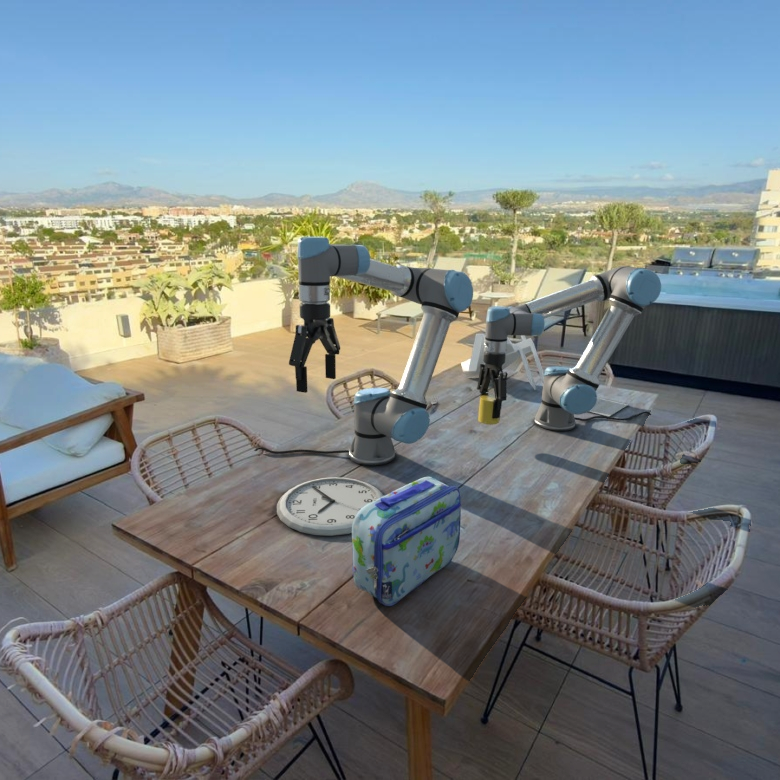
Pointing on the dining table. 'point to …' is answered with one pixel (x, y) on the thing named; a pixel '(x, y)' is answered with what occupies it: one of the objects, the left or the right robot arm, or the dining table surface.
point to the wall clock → (325, 505)
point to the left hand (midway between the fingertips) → (316, 384)
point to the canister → (487, 410)
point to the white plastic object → (512, 354)
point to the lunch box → (405, 538)
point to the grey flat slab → (607, 407)
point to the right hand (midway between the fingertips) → (489, 413)
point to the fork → (432, 403)
